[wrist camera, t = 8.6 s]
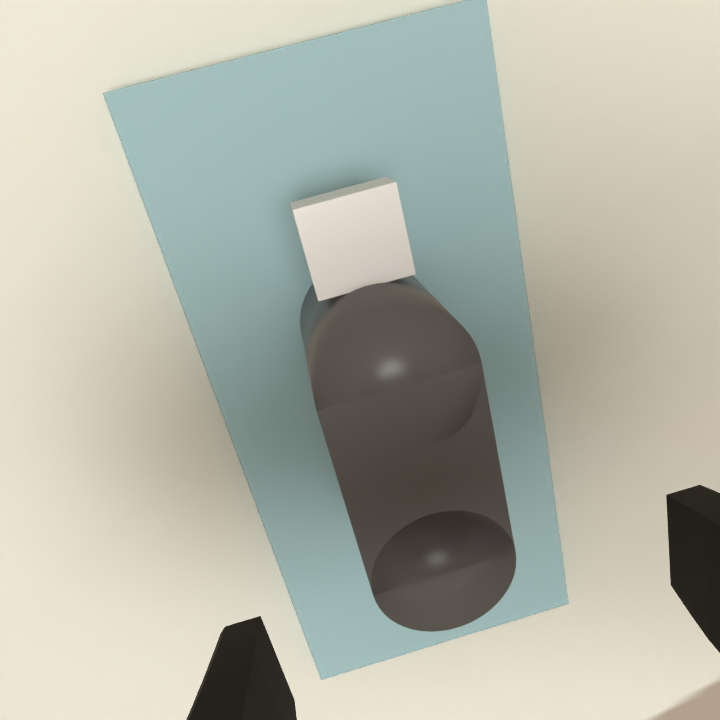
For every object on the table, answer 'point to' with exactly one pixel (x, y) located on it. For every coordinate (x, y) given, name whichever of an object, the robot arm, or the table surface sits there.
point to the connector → (402, 415)
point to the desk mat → (292, 281)
